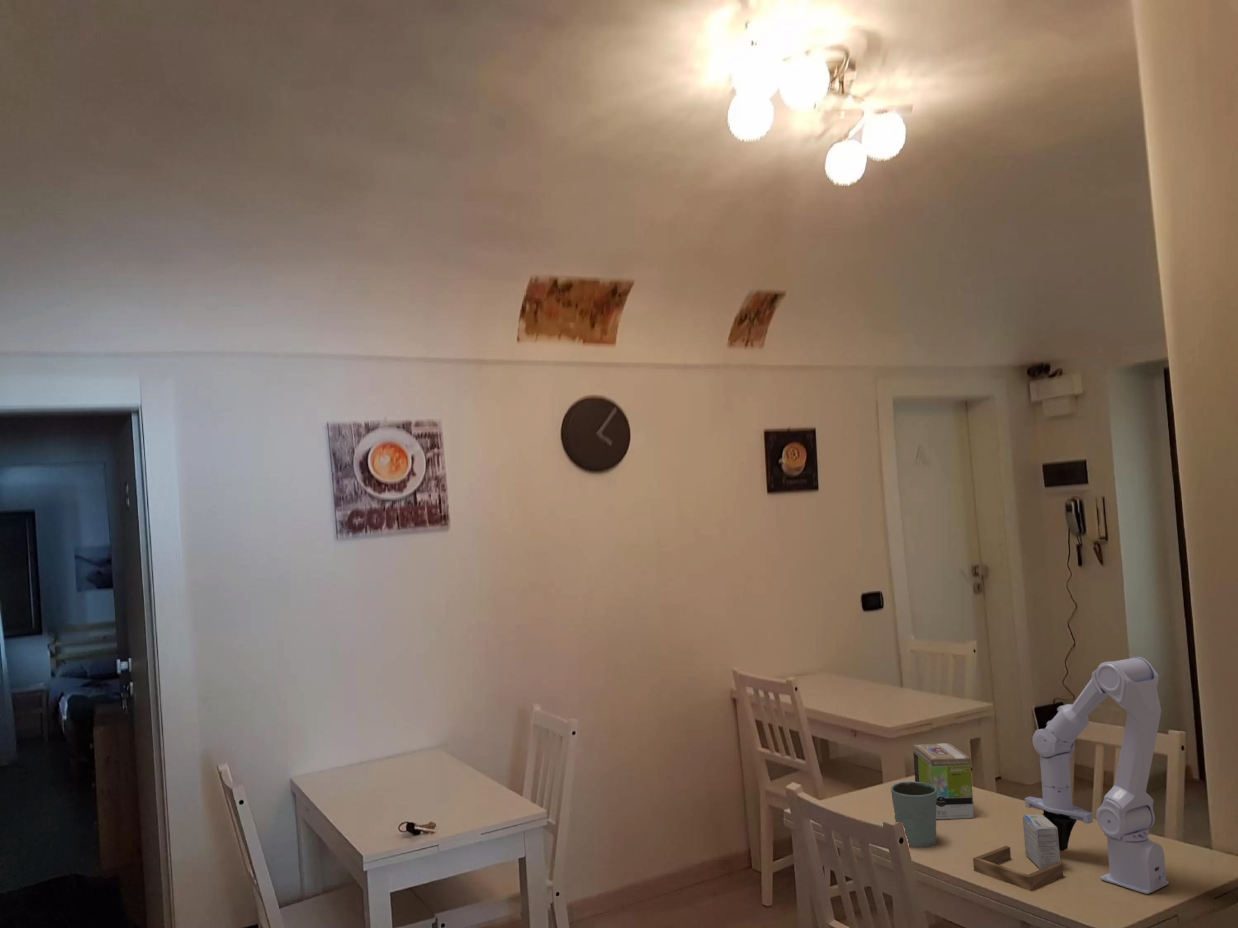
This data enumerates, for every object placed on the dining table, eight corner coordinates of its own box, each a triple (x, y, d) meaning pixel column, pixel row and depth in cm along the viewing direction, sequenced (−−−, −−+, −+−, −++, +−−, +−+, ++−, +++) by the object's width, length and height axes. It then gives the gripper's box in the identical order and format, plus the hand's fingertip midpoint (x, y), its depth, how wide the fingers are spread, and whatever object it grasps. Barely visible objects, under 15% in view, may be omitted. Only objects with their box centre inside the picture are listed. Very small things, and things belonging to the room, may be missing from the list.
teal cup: (924, 830, 216) (920, 778, 217) (950, 845, 207) (946, 790, 207) (885, 836, 214) (882, 784, 214) (910, 851, 204) (906, 796, 205)
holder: (1063, 875, 187) (1062, 863, 187) (1030, 890, 181) (1029, 877, 181) (1006, 857, 198) (1005, 845, 198) (973, 870, 192) (973, 858, 192)
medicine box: (1061, 869, 190) (1058, 827, 191) (1039, 870, 191) (1036, 827, 191) (1046, 854, 198) (1043, 813, 198) (1024, 854, 198) (1022, 814, 199)
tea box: (975, 818, 223) (971, 756, 224) (934, 820, 223) (929, 758, 224) (954, 799, 238) (950, 741, 239) (915, 801, 238) (911, 743, 239)
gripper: (1099, 788, 194) (1104, 853, 194) (1036, 773, 207) (1041, 834, 206) (1079, 795, 191) (1084, 862, 190) (1017, 779, 203) (1021, 842, 202)
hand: (1060, 848), depth 198 cm, fingers closed
